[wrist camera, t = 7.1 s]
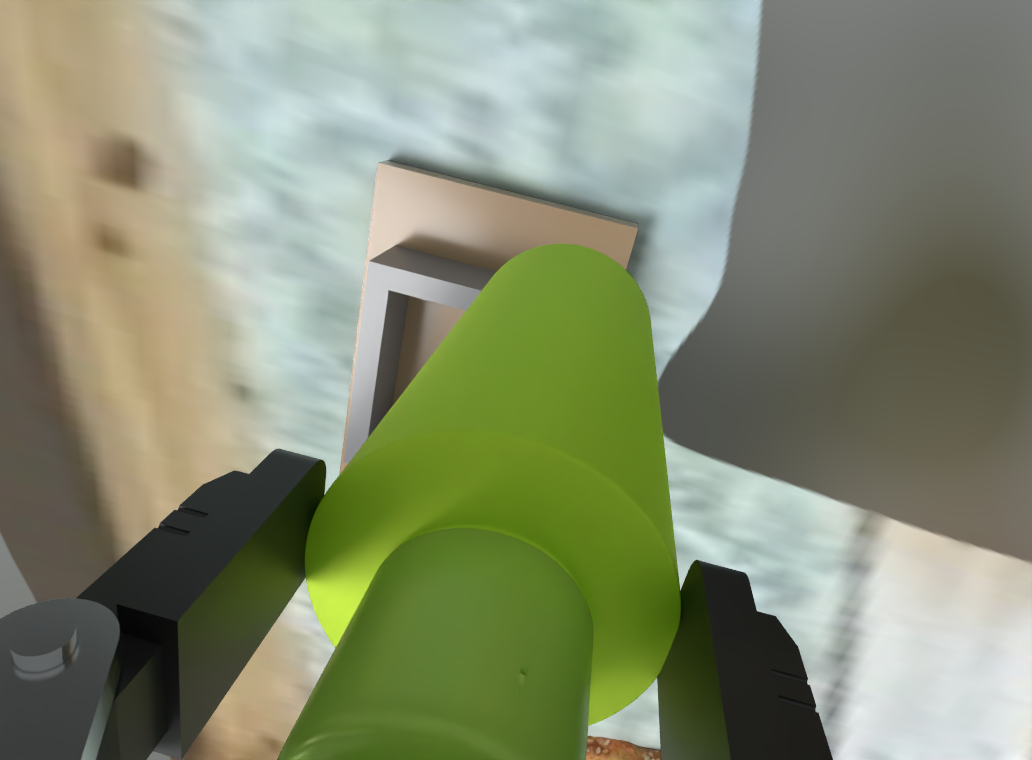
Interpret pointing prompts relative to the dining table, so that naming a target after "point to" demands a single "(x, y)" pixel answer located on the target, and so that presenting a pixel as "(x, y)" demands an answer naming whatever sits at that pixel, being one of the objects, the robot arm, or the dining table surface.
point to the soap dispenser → (501, 533)
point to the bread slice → (618, 750)
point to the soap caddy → (443, 272)
